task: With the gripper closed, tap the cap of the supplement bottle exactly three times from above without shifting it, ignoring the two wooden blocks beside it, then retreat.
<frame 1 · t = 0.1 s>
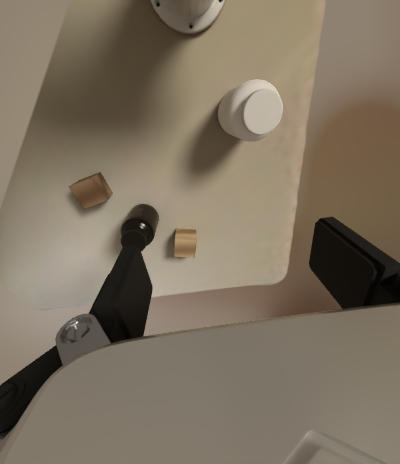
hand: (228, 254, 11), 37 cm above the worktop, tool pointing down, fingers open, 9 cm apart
maple block: (185, 237, 53), on the worktop
supplement bottle: (144, 215, 50), on the worktop
walnut block: (96, 186, 46), on the worktop
pill bottle: (237, 112, 40), on the worktop
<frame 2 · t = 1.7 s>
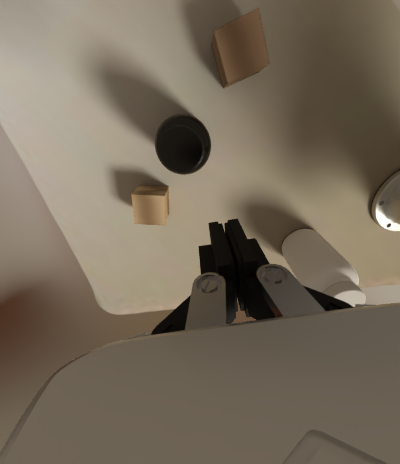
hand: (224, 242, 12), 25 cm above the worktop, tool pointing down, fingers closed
maple block: (154, 199, 37), on the worktop
supplement bottle: (186, 139, 32), on the worktop
walnut block: (235, 59, 28), on the worktop
pill bottle: (299, 244, 42), on the worktop
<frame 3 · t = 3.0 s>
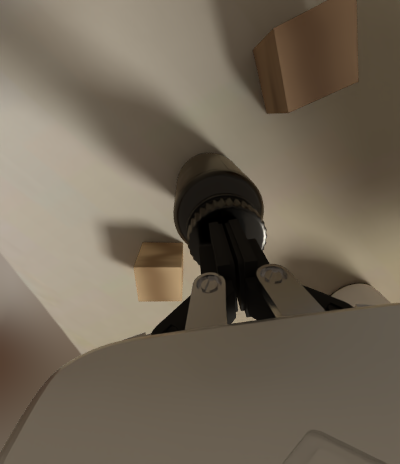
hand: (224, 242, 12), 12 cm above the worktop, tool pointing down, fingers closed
maple block: (163, 258, 27), on the worktop
supplement bottle: (208, 183, 23), on the worktop, touching gripper
walnut block: (287, 70, 18), on the worktop
pill bottle: (348, 299, 33), on the worktop
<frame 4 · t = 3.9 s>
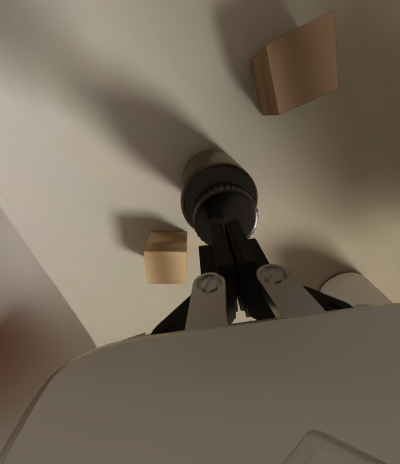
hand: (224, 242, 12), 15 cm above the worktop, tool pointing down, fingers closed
maple block: (169, 246, 30), on the worktop
supplement bottle: (210, 177, 25), on the worktop
walnut block: (280, 77, 21), on the worktop
pill bottle: (340, 288, 35), on the worktop
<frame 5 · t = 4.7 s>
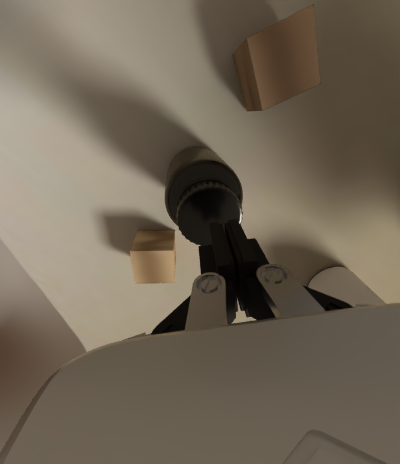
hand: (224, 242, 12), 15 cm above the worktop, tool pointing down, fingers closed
maple block: (157, 245, 30), on the worktop
supplement bottle: (197, 175, 25), on the worktop
walnut block: (263, 73, 21), on the worktop
pill bottle: (327, 282, 36), on the worktop
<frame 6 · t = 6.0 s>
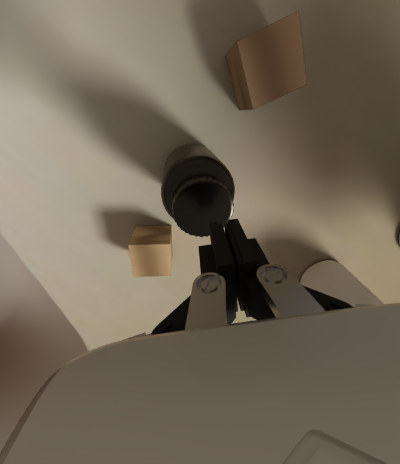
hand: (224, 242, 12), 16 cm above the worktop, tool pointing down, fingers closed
maple block: (154, 240, 31), on the worktop
supplement bottle: (192, 171, 26), on the worktop
walnut block: (254, 73, 22), on the worktop
pill bottle: (319, 275, 38), on the worktop
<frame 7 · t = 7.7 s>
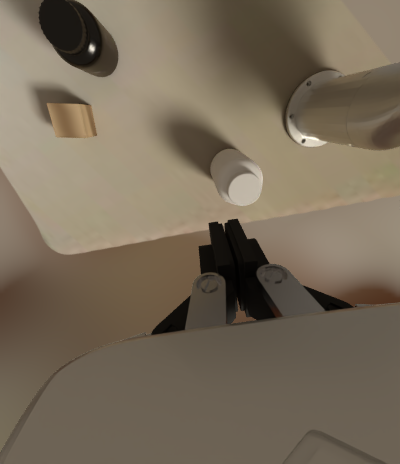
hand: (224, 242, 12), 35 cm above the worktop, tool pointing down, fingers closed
maple block: (80, 120, 39), on the worktop
supplement bottle: (98, 52, 34), on the worktop
pill bottle: (228, 167, 45), on the worktop
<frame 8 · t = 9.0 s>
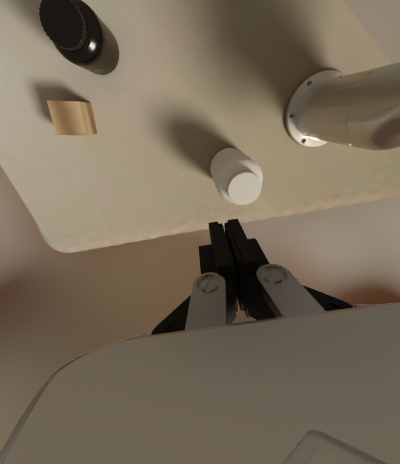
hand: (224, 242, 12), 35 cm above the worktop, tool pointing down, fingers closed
maple block: (80, 118, 39), on the worktop
supplement bottle: (99, 50, 34), on the worktop
pill bottle: (228, 167, 45), on the worktop
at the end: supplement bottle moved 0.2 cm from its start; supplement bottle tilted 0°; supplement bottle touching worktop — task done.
